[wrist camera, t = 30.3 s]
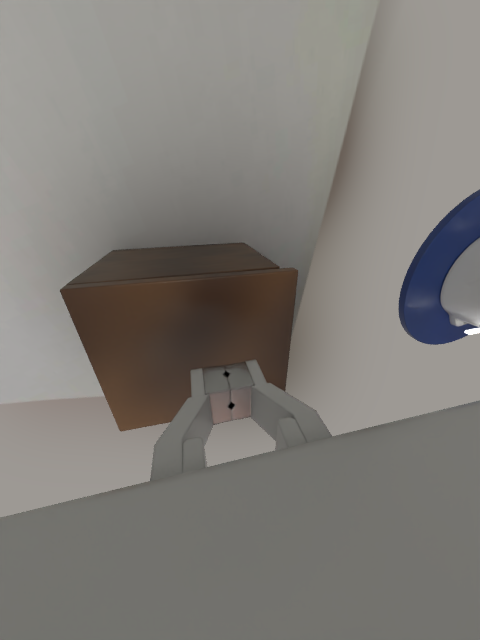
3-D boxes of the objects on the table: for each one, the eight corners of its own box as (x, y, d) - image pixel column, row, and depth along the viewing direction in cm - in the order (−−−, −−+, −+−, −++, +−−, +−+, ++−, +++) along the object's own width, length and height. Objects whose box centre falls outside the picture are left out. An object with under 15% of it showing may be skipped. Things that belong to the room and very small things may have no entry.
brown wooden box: (243, 242, 23) (280, 266, 15) (244, 336, 29) (271, 393, 20) (112, 250, 21) (66, 284, 12) (140, 351, 26) (122, 422, 18)
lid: (293, 267, 15) (298, 270, 14) (281, 394, 20) (284, 401, 19) (65, 284, 12) (58, 289, 12) (122, 423, 18) (119, 432, 17)
